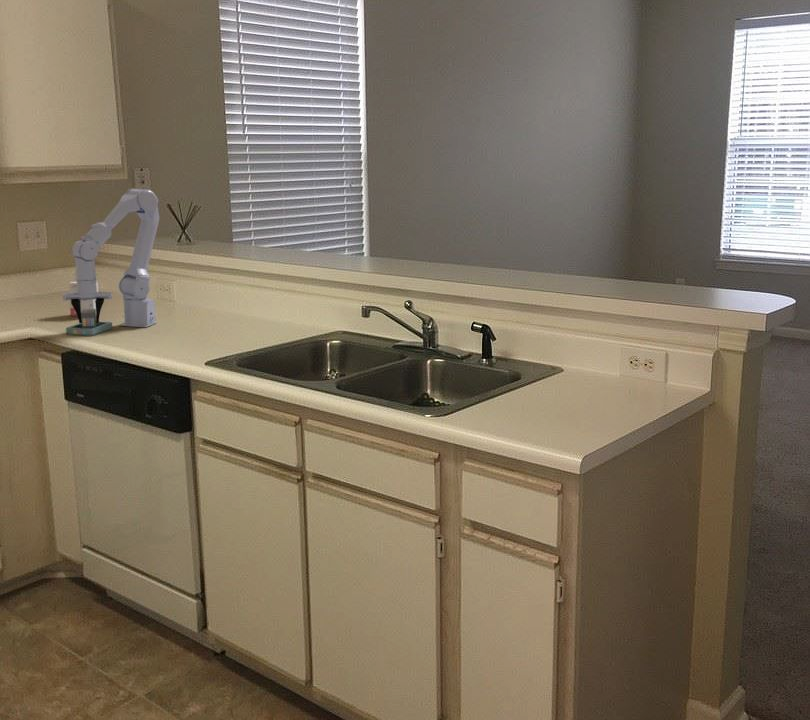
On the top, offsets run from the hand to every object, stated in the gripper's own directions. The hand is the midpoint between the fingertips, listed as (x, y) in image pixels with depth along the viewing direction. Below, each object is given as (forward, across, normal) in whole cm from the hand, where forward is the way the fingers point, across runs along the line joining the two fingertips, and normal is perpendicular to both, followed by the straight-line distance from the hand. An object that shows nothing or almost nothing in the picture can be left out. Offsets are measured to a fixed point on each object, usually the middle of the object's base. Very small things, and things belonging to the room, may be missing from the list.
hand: (89, 322), depth 288 cm
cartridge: (+2, 0, 0) cm, 2 cm away
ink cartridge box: (+3, +3, -28) cm, 28 cm away
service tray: (+3, 0, 0) cm, 3 cm away
